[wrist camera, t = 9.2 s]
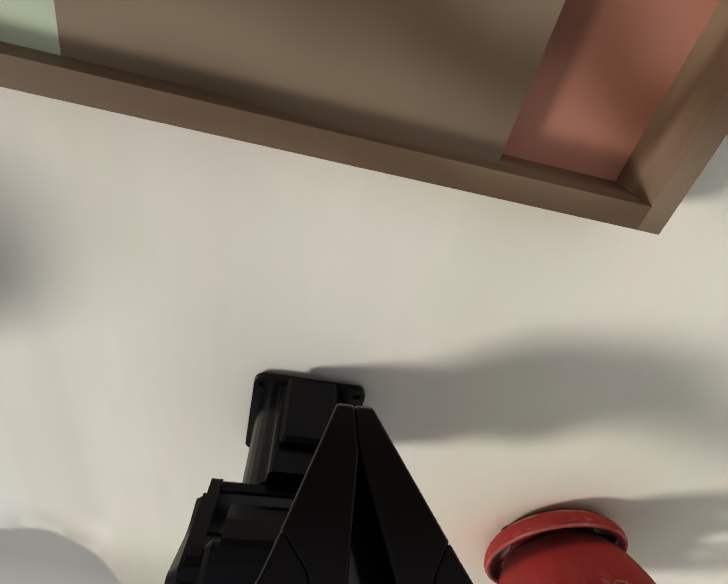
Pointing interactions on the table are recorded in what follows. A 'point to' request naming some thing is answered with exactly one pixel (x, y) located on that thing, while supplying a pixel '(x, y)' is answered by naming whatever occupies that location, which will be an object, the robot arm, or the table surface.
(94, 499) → the table surface
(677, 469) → the table surface
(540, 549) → the plant pot
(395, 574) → the robot arm
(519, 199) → the trap channel
